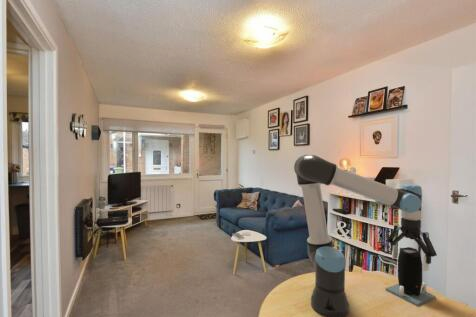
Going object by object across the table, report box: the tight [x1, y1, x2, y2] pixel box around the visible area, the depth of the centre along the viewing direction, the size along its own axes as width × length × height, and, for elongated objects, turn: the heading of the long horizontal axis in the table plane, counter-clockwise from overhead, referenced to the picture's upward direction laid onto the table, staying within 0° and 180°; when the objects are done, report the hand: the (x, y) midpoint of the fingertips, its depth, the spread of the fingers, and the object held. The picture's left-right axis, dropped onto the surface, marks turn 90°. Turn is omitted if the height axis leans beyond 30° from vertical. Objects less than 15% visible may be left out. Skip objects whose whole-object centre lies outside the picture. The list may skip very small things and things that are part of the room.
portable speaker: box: [397, 246, 423, 295], centre depth 115 cm, size 9×9×20 cm
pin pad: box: [385, 281, 437, 307], centre depth 115 cm, size 14×14×5 cm
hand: (409, 264), depth 115 cm, fingers open, 13 cm apart
